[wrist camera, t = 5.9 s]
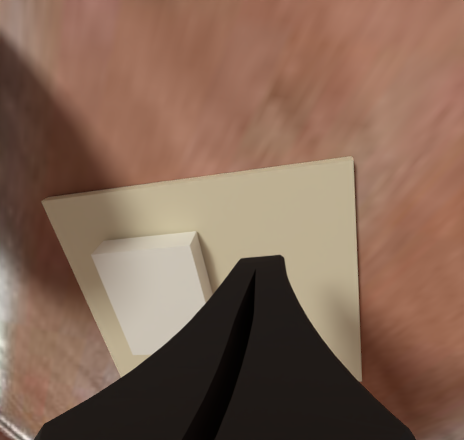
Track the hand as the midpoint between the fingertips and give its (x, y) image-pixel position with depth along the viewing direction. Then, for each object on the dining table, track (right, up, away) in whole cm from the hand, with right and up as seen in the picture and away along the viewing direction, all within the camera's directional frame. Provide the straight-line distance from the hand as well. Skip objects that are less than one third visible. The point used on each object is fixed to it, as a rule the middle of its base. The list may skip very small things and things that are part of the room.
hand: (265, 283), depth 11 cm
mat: (-2, -3, +12) cm, 13 cm away
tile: (-2, -3, +11) cm, 11 cm away
